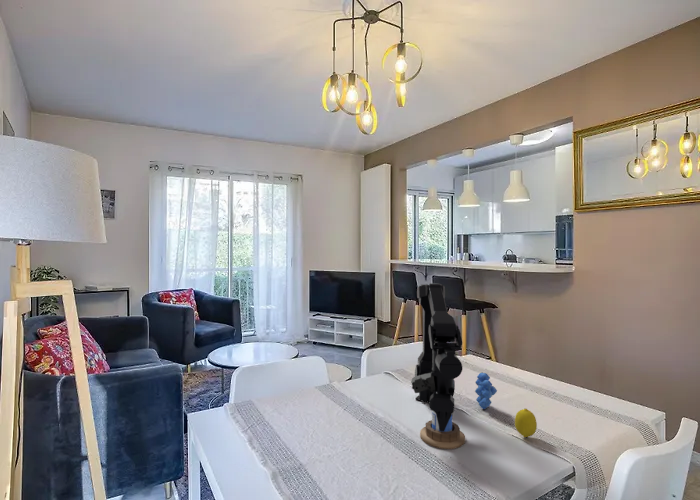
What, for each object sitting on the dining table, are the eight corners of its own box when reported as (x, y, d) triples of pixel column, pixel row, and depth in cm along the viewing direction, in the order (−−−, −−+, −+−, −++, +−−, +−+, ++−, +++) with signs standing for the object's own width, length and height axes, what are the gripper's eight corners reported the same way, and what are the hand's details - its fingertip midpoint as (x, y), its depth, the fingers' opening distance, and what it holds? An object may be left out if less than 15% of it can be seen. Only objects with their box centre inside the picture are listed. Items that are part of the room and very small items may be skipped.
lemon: (535, 434, 112) (535, 406, 112) (537, 443, 107) (537, 414, 107) (513, 431, 114) (514, 403, 114) (515, 440, 109) (515, 411, 109)
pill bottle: (455, 433, 110) (455, 398, 110) (447, 441, 106) (447, 404, 106) (436, 428, 113) (437, 393, 113) (428, 435, 109) (428, 399, 109)
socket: (429, 424, 118) (430, 413, 118) (470, 435, 112) (470, 423, 112) (413, 441, 108) (413, 429, 108) (457, 453, 101) (457, 441, 101)
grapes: (502, 416, 124) (503, 378, 124) (480, 416, 124) (481, 377, 124) (491, 402, 135) (492, 366, 135) (471, 401, 136) (471, 366, 136)
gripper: (416, 355, 121) (416, 406, 121) (409, 374, 103) (409, 435, 103) (454, 358, 118) (454, 411, 118) (454, 378, 100) (453, 441, 100)
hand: (442, 423), depth 110 cm, fingers open, 9 cm apart
